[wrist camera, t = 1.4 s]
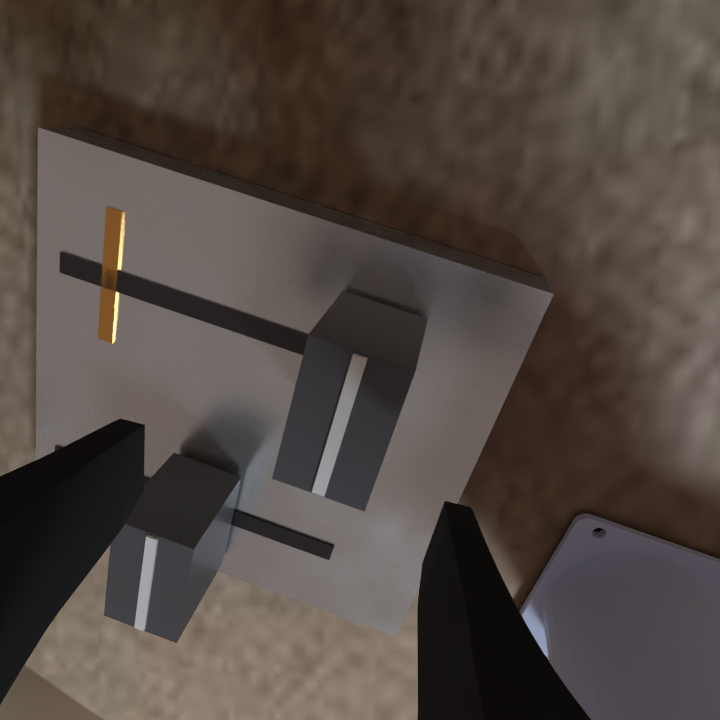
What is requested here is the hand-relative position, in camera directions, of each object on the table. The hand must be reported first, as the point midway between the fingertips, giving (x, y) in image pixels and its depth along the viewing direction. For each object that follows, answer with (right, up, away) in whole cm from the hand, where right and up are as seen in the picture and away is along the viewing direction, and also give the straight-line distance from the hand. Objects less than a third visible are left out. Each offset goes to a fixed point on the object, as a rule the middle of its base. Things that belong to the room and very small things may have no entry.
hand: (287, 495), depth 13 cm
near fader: (+2, +3, +7) cm, 7 cm away
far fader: (-5, -3, +11) cm, 12 cm away
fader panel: (-3, +2, +10) cm, 11 cm away
